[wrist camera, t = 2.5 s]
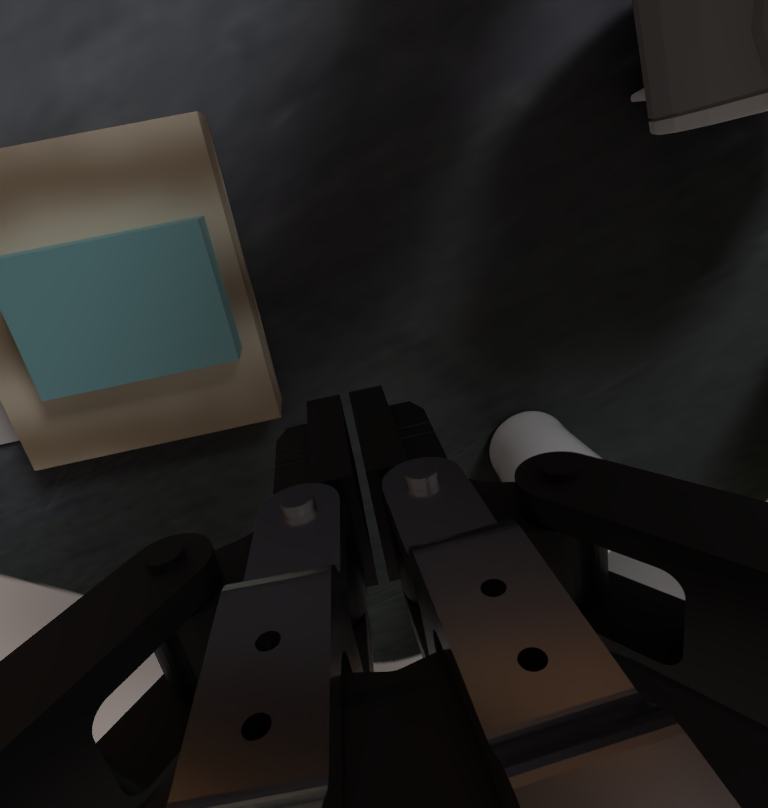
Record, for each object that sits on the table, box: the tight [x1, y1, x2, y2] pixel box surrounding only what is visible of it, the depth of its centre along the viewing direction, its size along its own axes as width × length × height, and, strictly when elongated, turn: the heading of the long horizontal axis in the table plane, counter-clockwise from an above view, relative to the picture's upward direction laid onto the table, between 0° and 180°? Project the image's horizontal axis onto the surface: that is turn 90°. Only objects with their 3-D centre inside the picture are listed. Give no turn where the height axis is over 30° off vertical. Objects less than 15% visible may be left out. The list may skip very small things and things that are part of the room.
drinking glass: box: [489, 411, 685, 600], centre depth 34 cm, size 7×7×15 cm
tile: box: [0, 215, 242, 401], centre depth 30 cm, size 7×10×2 cm
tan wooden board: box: [0, 111, 282, 471], centre depth 32 cm, size 16×14×3 cm
